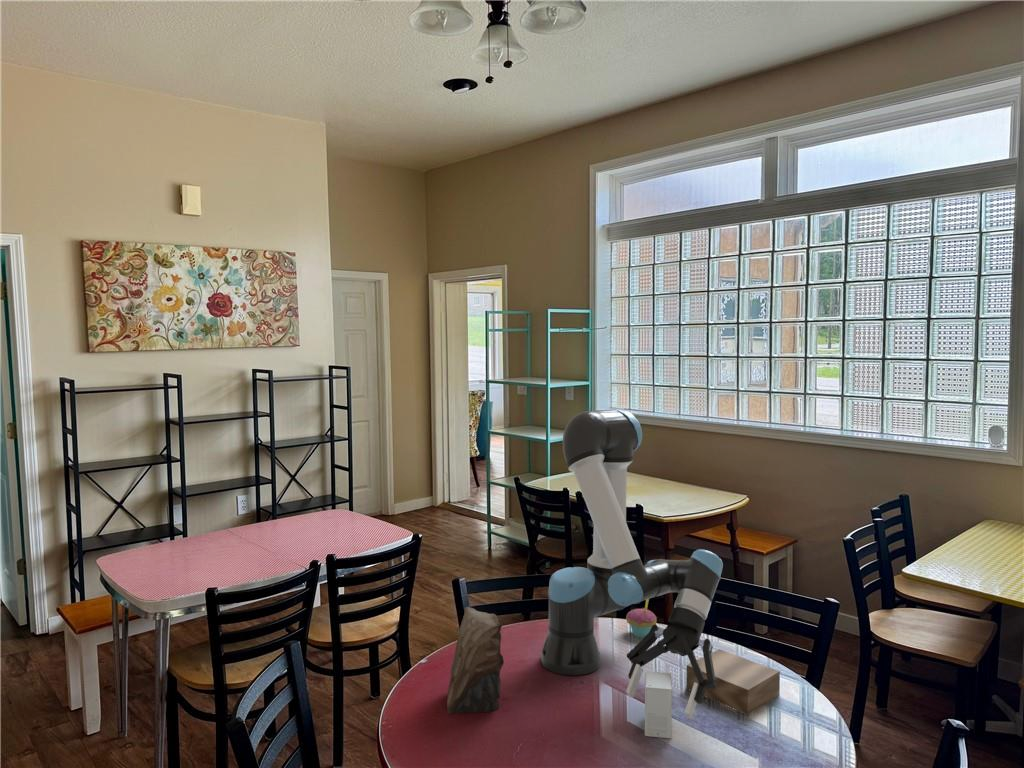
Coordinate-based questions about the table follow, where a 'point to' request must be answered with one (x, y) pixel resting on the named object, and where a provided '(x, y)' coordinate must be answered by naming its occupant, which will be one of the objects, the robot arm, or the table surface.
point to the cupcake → (641, 620)
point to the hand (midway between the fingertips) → (657, 705)
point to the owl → (476, 665)
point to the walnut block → (738, 681)
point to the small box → (658, 704)
